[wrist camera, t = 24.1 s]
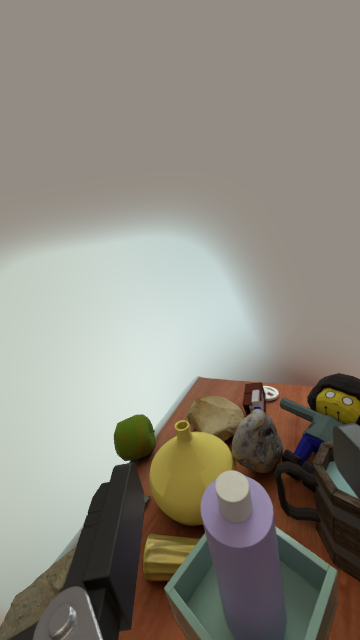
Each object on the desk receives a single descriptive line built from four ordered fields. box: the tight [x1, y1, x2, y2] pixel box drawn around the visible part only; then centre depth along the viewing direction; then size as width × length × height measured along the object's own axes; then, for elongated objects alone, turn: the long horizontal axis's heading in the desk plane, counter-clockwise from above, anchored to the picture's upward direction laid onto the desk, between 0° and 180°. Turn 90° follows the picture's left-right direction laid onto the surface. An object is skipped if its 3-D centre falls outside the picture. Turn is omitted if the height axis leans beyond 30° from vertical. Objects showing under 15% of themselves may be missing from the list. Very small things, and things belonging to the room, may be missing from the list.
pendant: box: [263, 386, 279, 401], centre depth 84 cm, size 7×11×1 cm, turn 32°
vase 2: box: [143, 533, 200, 582], centre depth 41 cm, size 6×6×14 cm
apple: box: [114, 415, 155, 461], centre depth 68 cm, size 11×11×11 cm
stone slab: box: [0, 548, 76, 640], centre depth 41 cm, size 27×12×5 cm, turn 132°
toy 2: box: [280, 373, 360, 492], centre depth 59 cm, size 25×14×30 cm
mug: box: [274, 441, 360, 581], centre depth 41 cm, size 20×14×15 cm
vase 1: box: [149, 420, 237, 526], centre depth 51 cm, size 18×18×19 cm
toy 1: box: [243, 382, 266, 416], centre depth 75 cm, size 6×5×15 cm
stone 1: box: [186, 396, 245, 441], centre depth 71 cm, size 17×18×10 cm
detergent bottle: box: [201, 471, 287, 640], centre depth 19 cm, size 5×5×14 cm
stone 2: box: [232, 409, 283, 473], centre depth 55 cm, size 11×21×10 cm
